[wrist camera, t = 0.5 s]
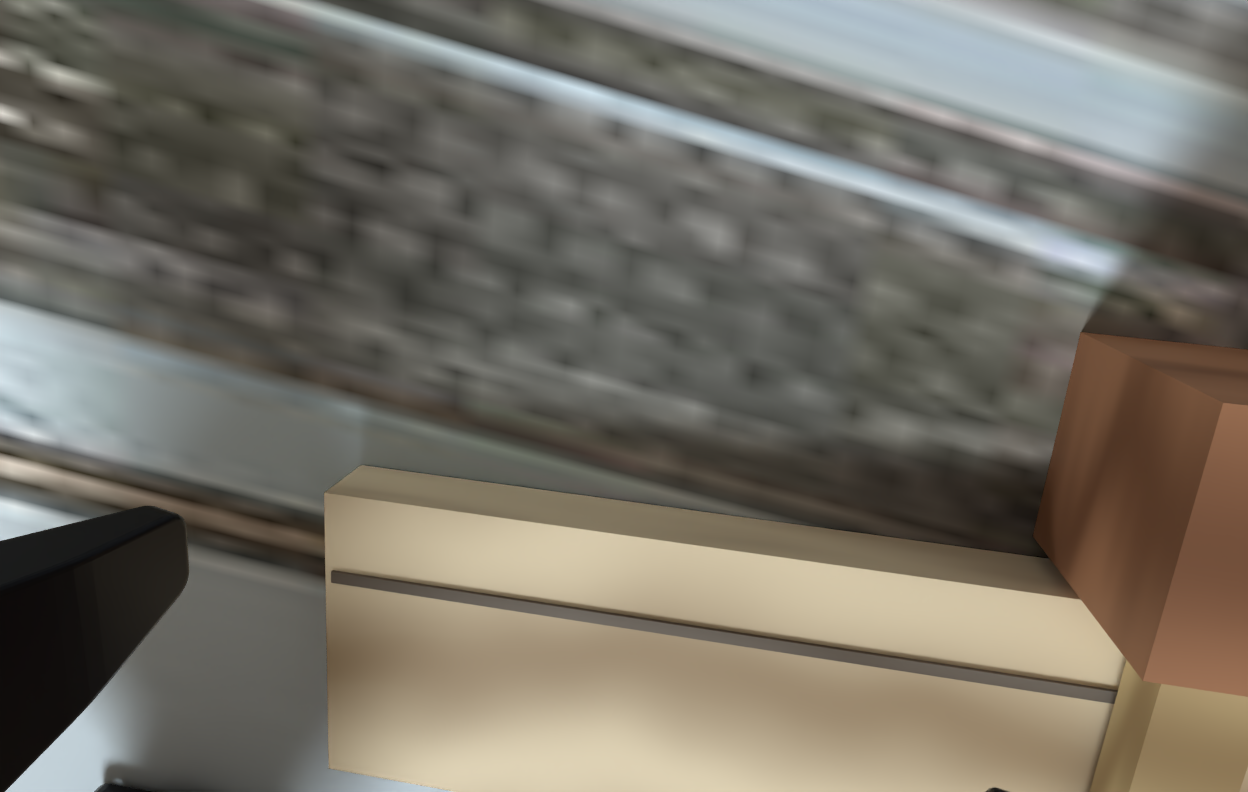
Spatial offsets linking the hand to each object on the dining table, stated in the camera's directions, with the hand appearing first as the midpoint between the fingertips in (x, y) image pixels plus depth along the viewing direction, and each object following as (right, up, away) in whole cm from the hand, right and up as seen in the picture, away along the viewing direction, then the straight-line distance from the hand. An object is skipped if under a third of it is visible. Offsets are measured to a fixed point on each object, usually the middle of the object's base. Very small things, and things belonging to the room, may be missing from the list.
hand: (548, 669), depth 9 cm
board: (+6, -4, +13) cm, 15 cm away
